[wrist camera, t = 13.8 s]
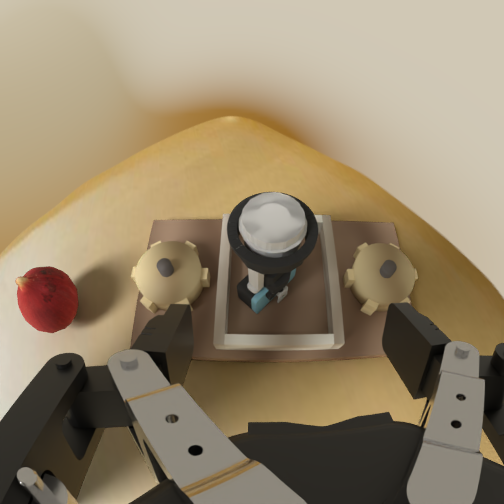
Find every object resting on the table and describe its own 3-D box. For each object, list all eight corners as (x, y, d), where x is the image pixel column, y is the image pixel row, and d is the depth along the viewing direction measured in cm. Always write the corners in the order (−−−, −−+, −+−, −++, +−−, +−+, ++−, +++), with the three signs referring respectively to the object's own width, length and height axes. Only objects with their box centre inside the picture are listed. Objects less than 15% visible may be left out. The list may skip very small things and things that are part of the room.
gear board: (131, 353, 24) (111, 341, 21) (154, 227, 31) (142, 201, 27) (414, 353, 24) (438, 340, 20) (392, 229, 30) (406, 204, 26)
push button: (276, 240, 28) (283, 158, 20) (322, 277, 26) (351, 203, 18) (223, 289, 26) (205, 217, 17) (270, 332, 24) (277, 278, 15)
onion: (75, 276, 28) (33, 233, 21) (102, 315, 26) (57, 276, 19) (38, 312, 26) (-10, 278, 19) (62, 354, 24) (9, 327, 17)
